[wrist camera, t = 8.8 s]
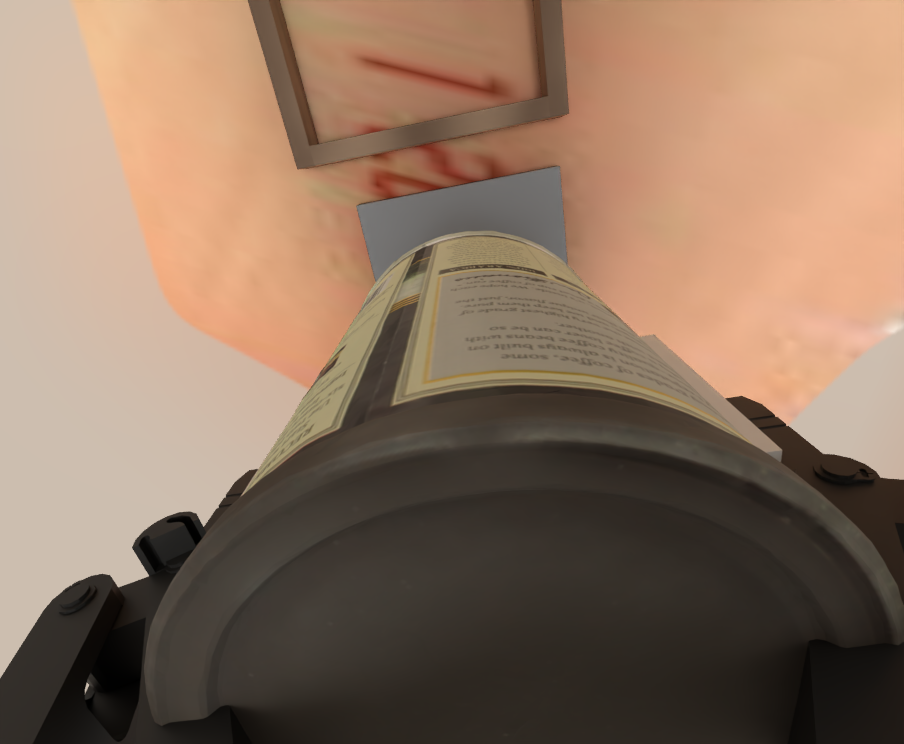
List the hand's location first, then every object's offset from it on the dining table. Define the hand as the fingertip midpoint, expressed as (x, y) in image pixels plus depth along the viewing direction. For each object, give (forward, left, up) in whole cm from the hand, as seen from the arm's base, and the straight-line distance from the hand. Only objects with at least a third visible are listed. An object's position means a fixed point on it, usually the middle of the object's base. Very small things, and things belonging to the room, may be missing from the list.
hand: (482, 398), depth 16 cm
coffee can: (0, 0, -4) cm, 4 cm away
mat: (0, 0, -16) cm, 16 cm away
